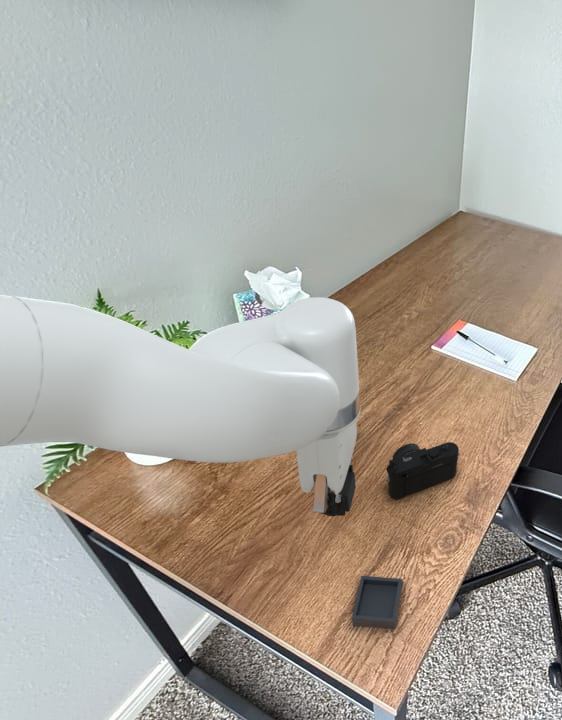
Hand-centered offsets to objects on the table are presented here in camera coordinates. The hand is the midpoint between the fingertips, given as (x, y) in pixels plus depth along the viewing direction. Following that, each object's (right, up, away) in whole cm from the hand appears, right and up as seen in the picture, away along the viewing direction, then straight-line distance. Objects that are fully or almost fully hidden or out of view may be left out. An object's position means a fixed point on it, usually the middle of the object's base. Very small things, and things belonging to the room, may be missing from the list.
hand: (337, 497), depth 64 cm
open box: (+5, -17, +4) cm, 18 cm away
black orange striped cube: (0, 0, 0) cm, 0 cm away
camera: (+8, -3, +23) cm, 24 cm away
